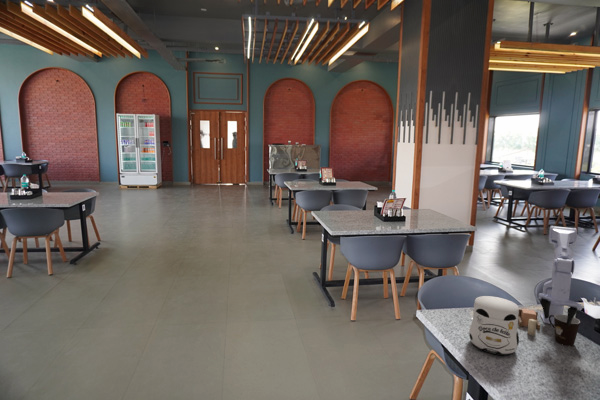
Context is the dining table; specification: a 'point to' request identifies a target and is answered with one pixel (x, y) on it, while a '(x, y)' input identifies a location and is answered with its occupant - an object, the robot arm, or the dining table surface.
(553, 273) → the robot arm
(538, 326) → the wooden u-shaped bracket
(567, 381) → the dining table surface
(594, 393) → the dining table surface
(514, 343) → the milk container
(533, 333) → the tethered block
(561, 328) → the coffee mug
